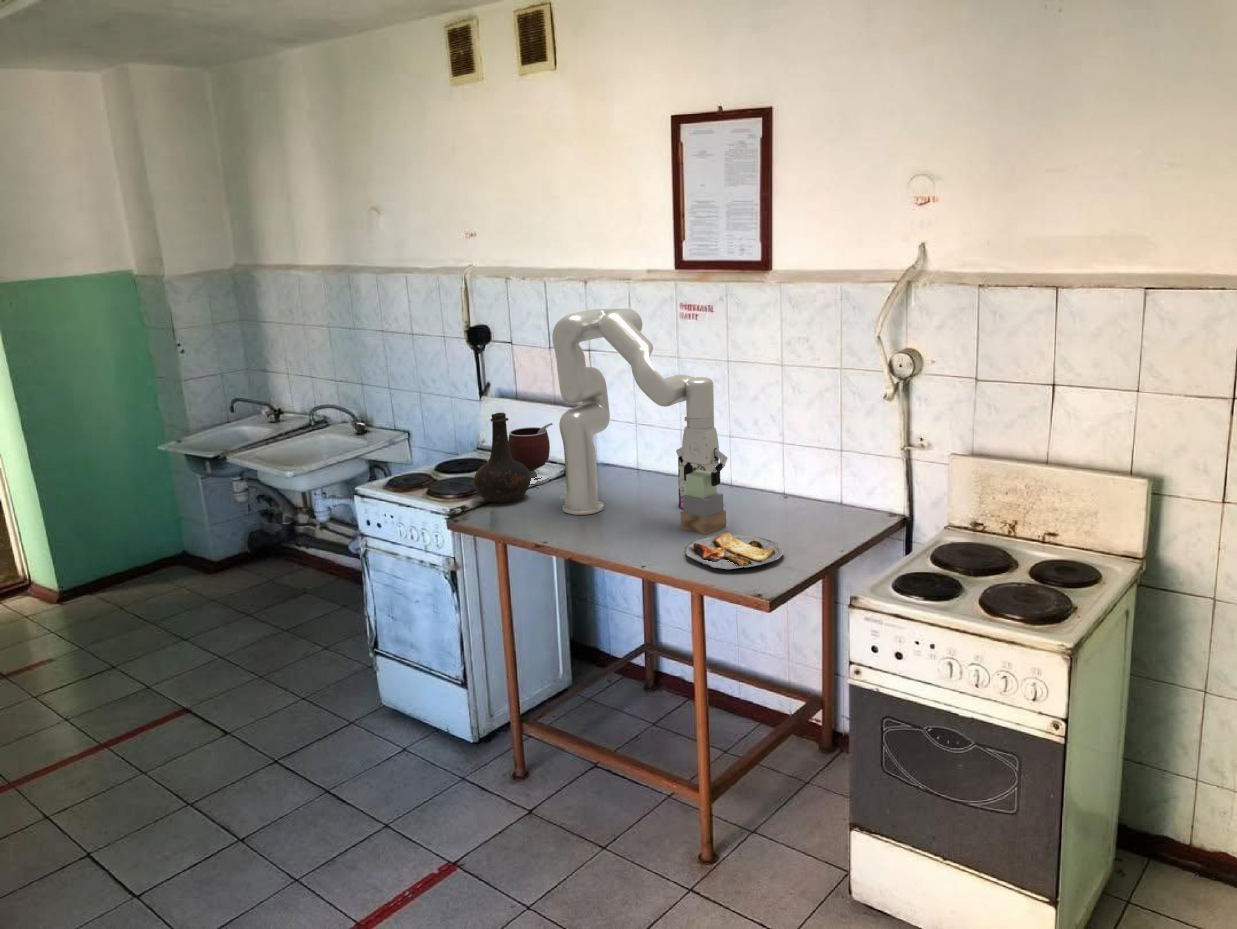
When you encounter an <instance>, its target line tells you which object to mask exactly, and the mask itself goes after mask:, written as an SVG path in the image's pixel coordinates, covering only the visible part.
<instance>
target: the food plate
mask: <svg viewBox="0 0 1237 929" xmlns="http://www.w3.org/2000/svg"><path fill="white" fill-rule="evenodd" d="M684 553H685V557H686V556H687V557H688V558H690V559H693V560H695V561H696V562H698V563H701V564H703V565H702V566H709V567H711V568H714V569H715V568H716V569H725V570H732V569H735V570H736V569H741V568H743V567H744V568H749V567H755V566H761V565H764V564H765V565H766V564H769V563H771V562H774V561H776V560H779V559H780V558H781V557H782V555H783V553H784V549H783V547H781V545H779V544H778V543H777V542H775V541H772V540H769V539H766V538H762V537H758V536H754V535H745V534H731V533H730V531H724V532H723V533H721V534H718V535H711V536H708V537H702V538H698V539H696V540H692V542H690V543H688V545H686V546H685V547H684ZM703 560H708V561H712V562H718V561H720V560H729V561H730V562H733V563H734V564H737V565H738V566H737V565H734V564H733V565H734V566H733V565H732V566H731V567H730V566H729V567H728V566H722V565H720V566H717V565H714V564H709V563H707V562H706V561H703ZM729 561H727V562H729ZM720 562H721V561H720ZM753 562H754V563H753ZM749 564H751V565H749Z"/></svg>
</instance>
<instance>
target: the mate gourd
mask: <svg viewBox="0 0 1237 929" xmlns="http://www.w3.org/2000/svg"><path fill="white" fill-rule="evenodd" d="M553 424H554V423H553V422H549V423H548V424H545V425H544V426H542V427H538V426H537V427H535V426H534V427H533V426H532V427H531V426H530V427H529V426H528V427H521V428H515V429H512V430H509V432H508V442H509V448H510V453H511V456H512V458H513V459H514V460H515V461H517V462H520V463H522V464H523V465H524V466H526V468H527V469H528V470H529V473H530V476H531V478H535V477H537V474H538V473H537V472H536V470H538V469H540V468H542V467H543V466H545V465H546V463H547V461H548V460H549V459H550V452H551V451H550V450H551V446H550V437H549V433H548V430H547V428H548V427H550V426H553ZM541 478H542V477H541ZM541 478H535V479H534V480H538V479H541ZM549 481H550V477H549V478H547V479H545V480H542V481H537V482H536V483H535V484H537V485H542V484H545V483H548V482H549Z"/></svg>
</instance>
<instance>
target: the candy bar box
mask: <svg viewBox="0 0 1237 929" xmlns="http://www.w3.org/2000/svg"><path fill="white" fill-rule="evenodd" d="M678 458H679V457H678V456H677V465H678V466H677V470H678V473H677V474H678V477H677V478H678V508H679V509H683V495H686V494H687V491H686V481H684V467H682V465H681V464H682V463H681V462H680V461H679V459H678ZM690 465H692V466H693V472H695V471H698V470H702V471H708V472H713V471H712V469H711V468H710V466H709V465H707V466H705V465H699V464H693V463H691V464H690ZM714 465H715V464H714Z"/></svg>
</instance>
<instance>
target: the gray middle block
mask: <svg viewBox="0 0 1237 929" xmlns="http://www.w3.org/2000/svg"><path fill="white" fill-rule="evenodd" d="M723 510H724V493H721V492H717V494H714V495H712V496H709V497H707V498H704V499H703V498H698V497H692V496H687V494H686V495H683V508H682V512H683V513H686V514H691V515H695V516H700V517H704V518H706V517H709V516H711V515H714V514H716V513H719V512H721V511H723Z"/></svg>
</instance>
